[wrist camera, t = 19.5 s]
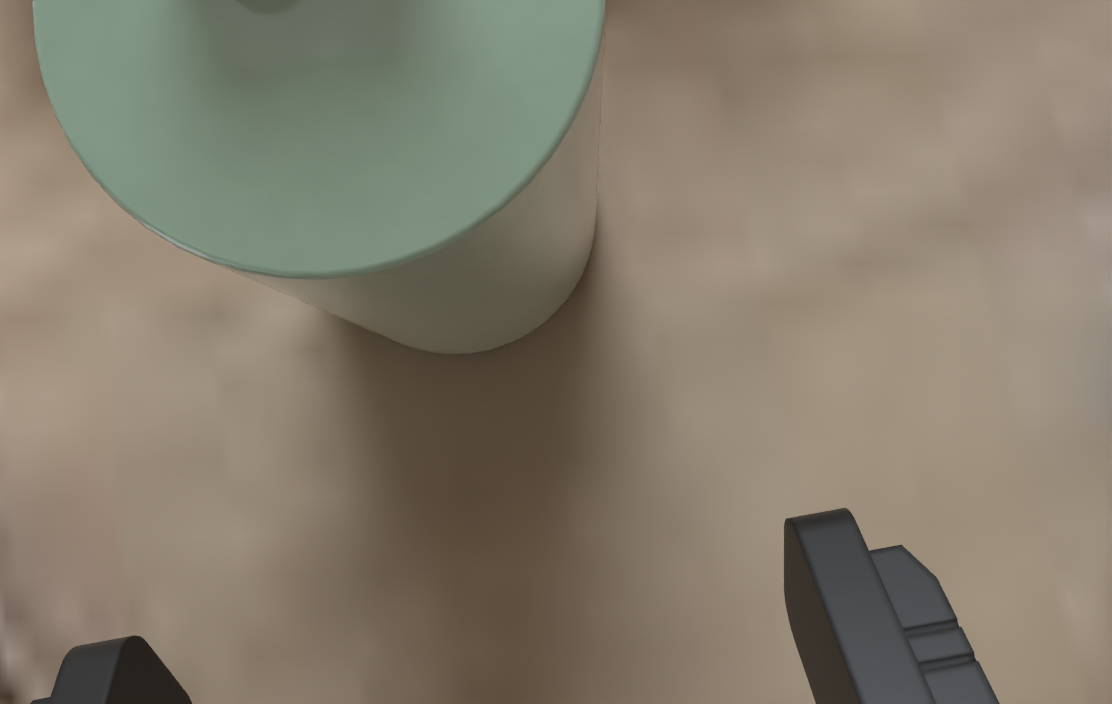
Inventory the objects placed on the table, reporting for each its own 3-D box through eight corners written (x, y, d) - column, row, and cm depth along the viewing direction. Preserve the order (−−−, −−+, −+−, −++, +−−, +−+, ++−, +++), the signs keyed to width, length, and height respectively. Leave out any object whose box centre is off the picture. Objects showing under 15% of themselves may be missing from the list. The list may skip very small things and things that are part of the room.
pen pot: (341, 377, 19) (-58, 303, 7) (298, 106, 19) (-146, -380, 8) (619, 327, 19) (672, 169, 7) (569, 56, 19) (542, -514, 8)
